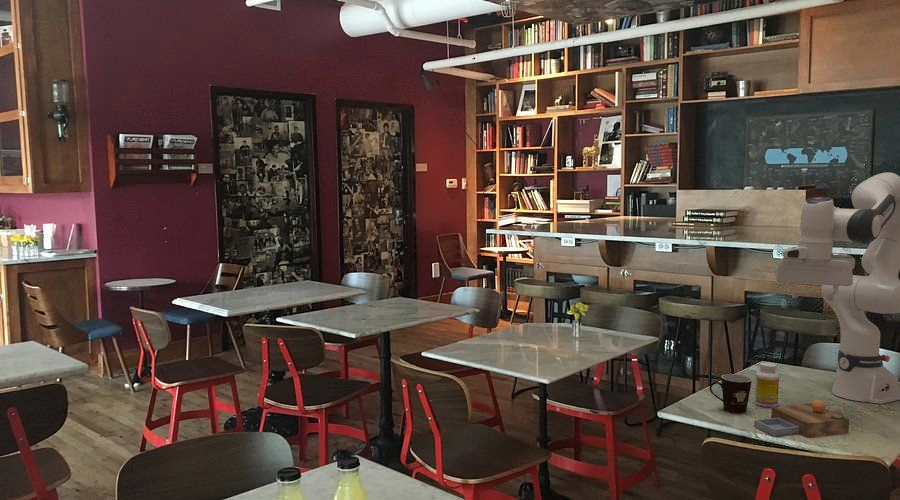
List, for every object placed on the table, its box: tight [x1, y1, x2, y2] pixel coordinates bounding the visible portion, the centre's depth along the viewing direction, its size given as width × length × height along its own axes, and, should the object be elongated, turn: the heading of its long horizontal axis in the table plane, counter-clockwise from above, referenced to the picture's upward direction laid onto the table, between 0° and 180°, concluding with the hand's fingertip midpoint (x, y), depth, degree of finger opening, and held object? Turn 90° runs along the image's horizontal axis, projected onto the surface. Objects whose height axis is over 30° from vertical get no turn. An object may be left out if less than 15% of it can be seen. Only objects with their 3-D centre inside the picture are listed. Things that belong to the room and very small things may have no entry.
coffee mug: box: [709, 373, 753, 415], centre depth 222 cm, size 12×9×10 cm
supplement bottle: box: [754, 361, 780, 408], centre depth 227 cm, size 7×7×13 cm
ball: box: [811, 399, 827, 412], centre depth 208 cm, size 4×4×4 cm
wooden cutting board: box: [770, 403, 850, 439], centre depth 207 cm, size 14×14×4 cm
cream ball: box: [828, 404, 845, 418], centre depth 203 cm, size 4×4×4 cm
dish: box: [753, 417, 800, 438], centre depth 204 cm, size 8×8×2 cm
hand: (812, 299), depth 216 cm, fingers open, 8 cm apart
